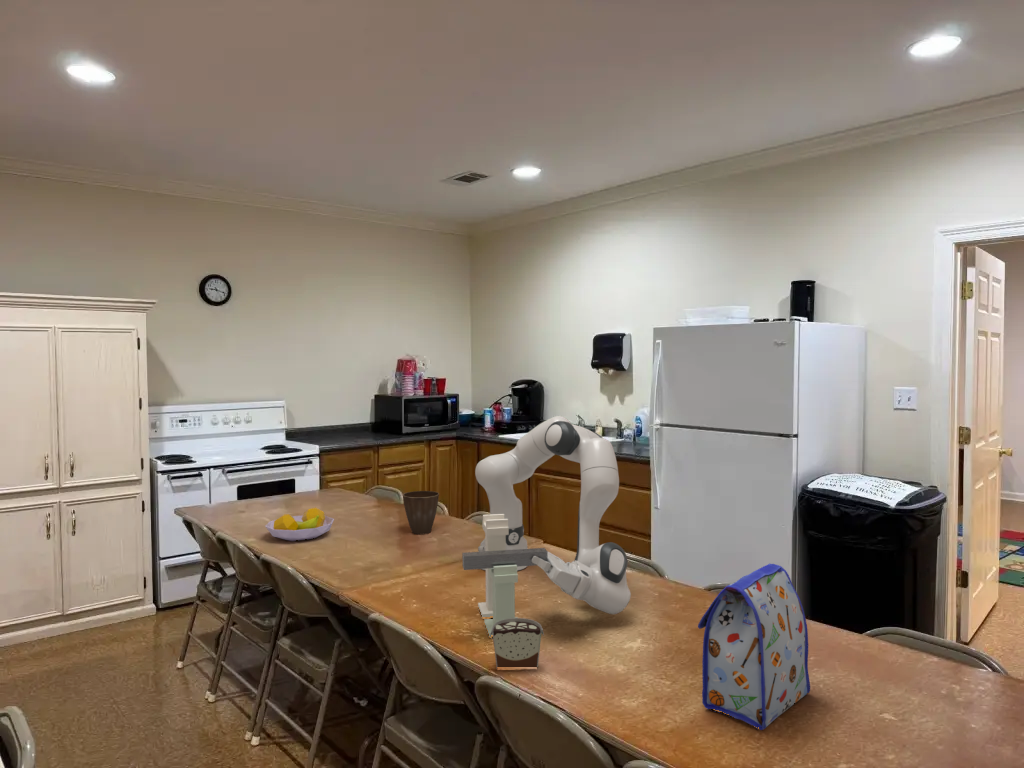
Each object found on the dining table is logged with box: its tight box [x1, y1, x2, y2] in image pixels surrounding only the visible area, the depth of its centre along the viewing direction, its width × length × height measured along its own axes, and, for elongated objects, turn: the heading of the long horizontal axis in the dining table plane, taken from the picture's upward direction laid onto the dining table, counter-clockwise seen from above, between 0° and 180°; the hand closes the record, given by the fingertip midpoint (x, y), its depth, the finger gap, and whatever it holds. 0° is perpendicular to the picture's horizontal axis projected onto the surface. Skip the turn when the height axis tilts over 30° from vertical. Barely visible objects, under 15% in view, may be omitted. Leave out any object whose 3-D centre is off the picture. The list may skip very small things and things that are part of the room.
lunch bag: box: [697, 563, 811, 731], centre depth 141 cm, size 23×17×27 cm
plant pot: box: [402, 490, 440, 535], centre depth 282 cm, size 15×15×16 cm
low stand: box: [483, 565, 519, 637], centre depth 178 cm, size 9×9×18 cm
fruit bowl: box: [265, 506, 335, 542], centre depth 276 cm, size 28×27×11 cm
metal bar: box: [461, 547, 549, 571], centre depth 178 cm, size 22×4×4 cm, turn 100°
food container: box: [490, 617, 545, 668], centre depth 158 cm, size 12×6×10 cm, turn 92°
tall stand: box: [477, 513, 509, 618], centre depth 191 cm, size 9×9×27 cm
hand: (530, 555), depth 179 cm, fingers closed on metal bar, 3 cm apart
